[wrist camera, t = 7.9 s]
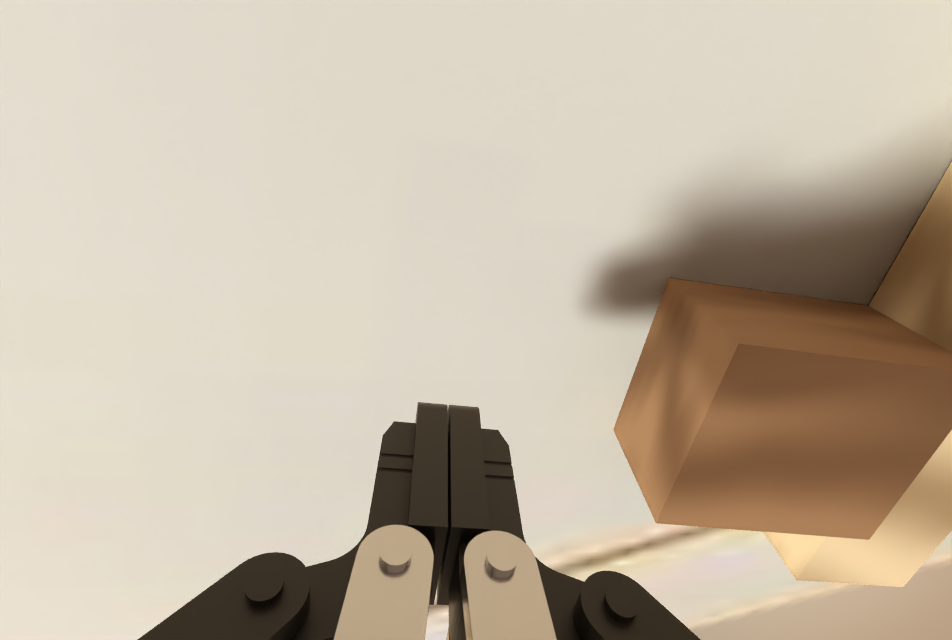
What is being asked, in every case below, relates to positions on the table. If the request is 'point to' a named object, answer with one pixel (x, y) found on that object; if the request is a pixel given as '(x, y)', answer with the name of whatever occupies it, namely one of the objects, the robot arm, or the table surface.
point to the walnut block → (780, 411)
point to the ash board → (948, 470)
